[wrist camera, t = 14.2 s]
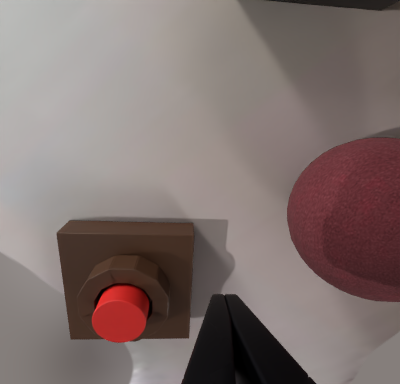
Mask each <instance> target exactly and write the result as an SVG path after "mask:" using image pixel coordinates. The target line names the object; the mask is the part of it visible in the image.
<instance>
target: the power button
mask: <svg viewBox="0 0 400 384" xmlns="http://www.w3.org/2000/svg"><path fill="white" fill-rule="evenodd" d="M148 310H149V300H148V297H147V295H146V294H145V292H144V291H143V290H141V289H140V288H138V287H137V286H134V285H131V284H117V285H113V286H111V287H109V288H108V289H107V290H105V291H104V293H103V294H102V296H101V298H100V300H99V302H98V304H97V307H96V309H95V311H94V313H93V316H92V325H93V328H94V330H95V331H96V333H97V334H98V335H99V336H101V337H102V338H104V339H106V340H108V341H112V342H118V343H119V342H128V341H131V340H134V339H136V338H137V337H138V336H140V335H141V333H142V332H143V331H144V329H145V326H146V321H147V316H148Z"/></svg>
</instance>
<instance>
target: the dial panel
mask: <svg viewBox="0 0 400 384" xmlns="http://www.w3.org/2000/svg"><path fill="white" fill-rule="evenodd" d="M271 1H282V2H293V3H304V4H316V5H327V6H338V7H349V8H360V9H372V10H383V9H385V8H387V7H388V6H390V5H392V4H394V3H396V2H398V1H400V0H271Z"/></svg>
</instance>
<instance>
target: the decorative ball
mask: <svg viewBox="0 0 400 384" xmlns="http://www.w3.org/2000/svg"><path fill="white" fill-rule="evenodd" d="M287 221H288V226H289V231H290V235H291V239H292V241H293V243H294V245H295V247H296V249H297V251H298V253H299V254H300V256H301V258H302V259H303V260H304V261H305V263H306V264H307V265H308V266H309V267H310V268H311V269H312V270H313V271H314V272H315V273H316V274H317V275H318V276H319V277H321V278H322V279H323V280H325V281H326V282H327V283H329V284H331V285H333V286H334V287H336V288H338V289H340V290H342V291H344V292H346V293H349V294H351V295H354V296H358V297H361V298H365V299H369V300H374V301H387V302H400V139H397V138H366V139H359V140H355V141H352V142H348V143H345V144H342V145H339V146H336V147H334V148H332V149H330V150H328V151H327V152H325V153H323V154H322V155H320V156H319V157H318V158H316V159H315V160H314V161H313V162H311V163H310V165H309V166H308V167H307V168H306V169H305V170H304V171H303V172H302V173H301V175H300V176H299V178H298V180H297V181H296V183H295V185H294V187H293V190H292V192H291V195H290V197H289V203H288V208H287Z"/></svg>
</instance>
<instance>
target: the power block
mask: <svg viewBox="0 0 400 384" xmlns="http://www.w3.org/2000/svg"><path fill="white" fill-rule="evenodd" d="M57 240H58V247H59V255H60V262H61V270H62V277H63V285H64V292H65V300H66V307H67V314H68V322H69V329H70V337H71V339H104V338H102V337H101V336H99V335H98V334H97V333H96V331H95V330H94V328H93V325H92V316H93V313H94V311H95V309H96V307H97V304H98V302H99V300H100V298H101V296H102V294H103V293H104V291H105V290H107V289H108V288H109V287H111V286H113V285H117V284H131V285H134V286H137V287H138V288H140V289H141V290H143V291H144V292H145V294H146V295H147V297H148V300H149V310H148V316H147V321H146V326H145V329H144V331H143V332H142V333H141V335H140V336H138V337H137V338H136V339H134V340H131V341H138V340H140V339H168V338H189V331H190V311H191V292H192V272H193V252H194V226H193V223H156V222H113V221H69V222H68V223H66V224H65V225H64V226H63V227H62V228H61V229H60V230H59V231H58V232H57Z"/></svg>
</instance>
